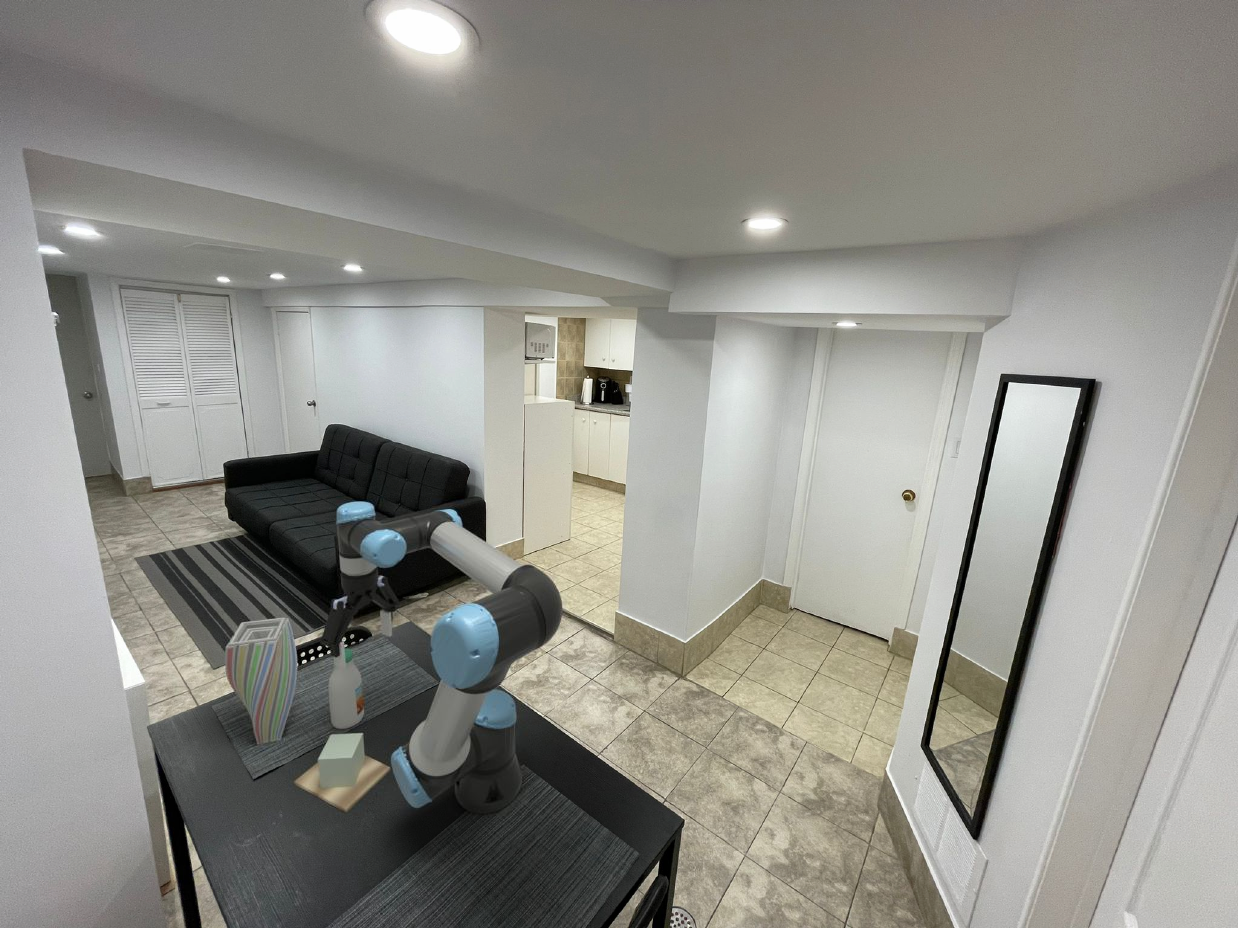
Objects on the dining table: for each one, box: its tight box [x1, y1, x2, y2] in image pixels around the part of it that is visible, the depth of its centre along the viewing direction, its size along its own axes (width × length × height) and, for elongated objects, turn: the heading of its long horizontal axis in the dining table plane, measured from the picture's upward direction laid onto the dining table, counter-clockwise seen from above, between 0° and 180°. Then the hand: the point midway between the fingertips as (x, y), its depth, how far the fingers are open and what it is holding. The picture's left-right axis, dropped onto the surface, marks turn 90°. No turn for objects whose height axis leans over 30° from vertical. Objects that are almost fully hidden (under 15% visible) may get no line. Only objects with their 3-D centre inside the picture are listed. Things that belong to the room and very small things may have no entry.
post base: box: [293, 754, 391, 814], centre depth 114 cm, size 16×12×6 cm
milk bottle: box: [328, 648, 365, 730], centre depth 129 cm, size 8×8×20 cm
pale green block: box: [317, 732, 366, 788], centre depth 114 cm, size 7×7×8 cm
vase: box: [224, 617, 298, 745], centre depth 121 cm, size 14×14×30 cm
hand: (364, 649), depth 118 cm, fingers open, 13 cm apart
